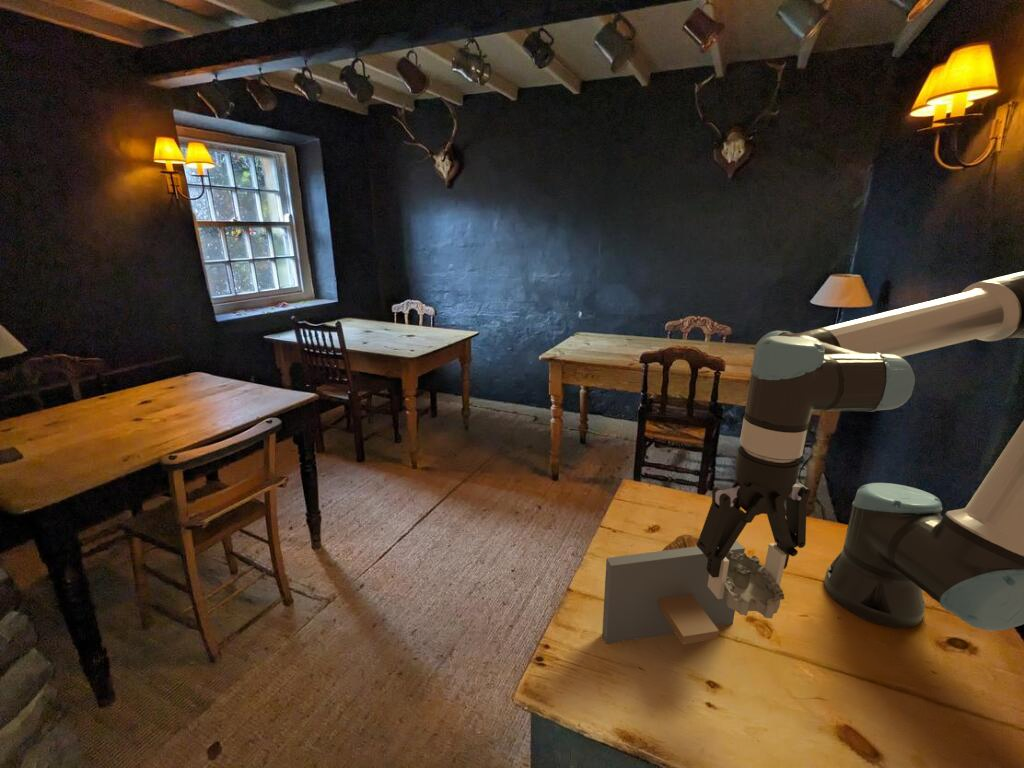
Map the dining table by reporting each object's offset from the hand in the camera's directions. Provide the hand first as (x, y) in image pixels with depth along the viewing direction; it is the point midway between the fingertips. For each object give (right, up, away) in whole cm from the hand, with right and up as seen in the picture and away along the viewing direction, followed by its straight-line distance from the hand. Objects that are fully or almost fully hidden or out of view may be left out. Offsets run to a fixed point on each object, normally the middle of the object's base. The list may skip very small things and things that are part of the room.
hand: (742, 588), depth 69 cm
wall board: (-6, -14, +9) cm, 18 cm away
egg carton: (0, -1, 0) cm, 1 cm away
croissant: (+4, -7, +32) cm, 33 cm away
